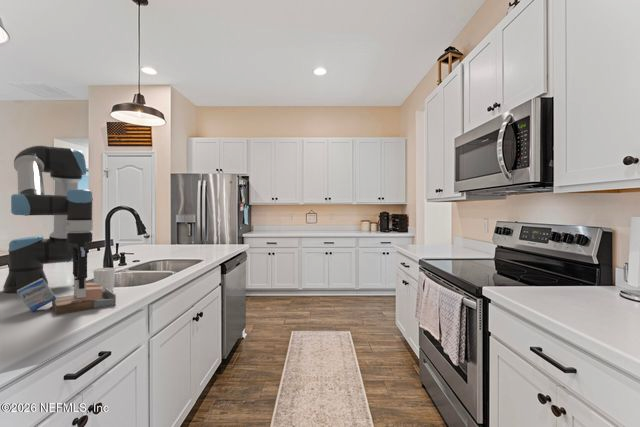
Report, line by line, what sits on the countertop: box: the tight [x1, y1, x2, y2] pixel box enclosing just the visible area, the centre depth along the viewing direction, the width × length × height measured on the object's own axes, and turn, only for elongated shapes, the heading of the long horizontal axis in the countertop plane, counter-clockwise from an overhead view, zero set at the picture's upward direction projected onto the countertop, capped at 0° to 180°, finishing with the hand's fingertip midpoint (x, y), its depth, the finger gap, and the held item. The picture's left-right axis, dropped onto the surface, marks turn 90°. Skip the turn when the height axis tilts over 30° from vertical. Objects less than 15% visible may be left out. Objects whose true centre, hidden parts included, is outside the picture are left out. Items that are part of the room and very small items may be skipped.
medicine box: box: [16, 278, 57, 312], centre depth 119 cm, size 8×4×9 cm, turn 133°
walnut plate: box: [51, 294, 93, 315], centre depth 123 cm, size 14×10×3 cm
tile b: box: [81, 287, 103, 301], centre depth 123 cm, size 4×6×4 cm
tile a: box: [86, 282, 100, 287], centre depth 130 cm, size 4×6×4 cm
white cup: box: [93, 267, 116, 292], centre depth 145 cm, size 8×8×10 cm
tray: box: [93, 288, 117, 309], centre depth 129 cm, size 14×7×4 cm, turn 44°
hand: (79, 295), depth 121 cm, fingers open, 4 cm apart
